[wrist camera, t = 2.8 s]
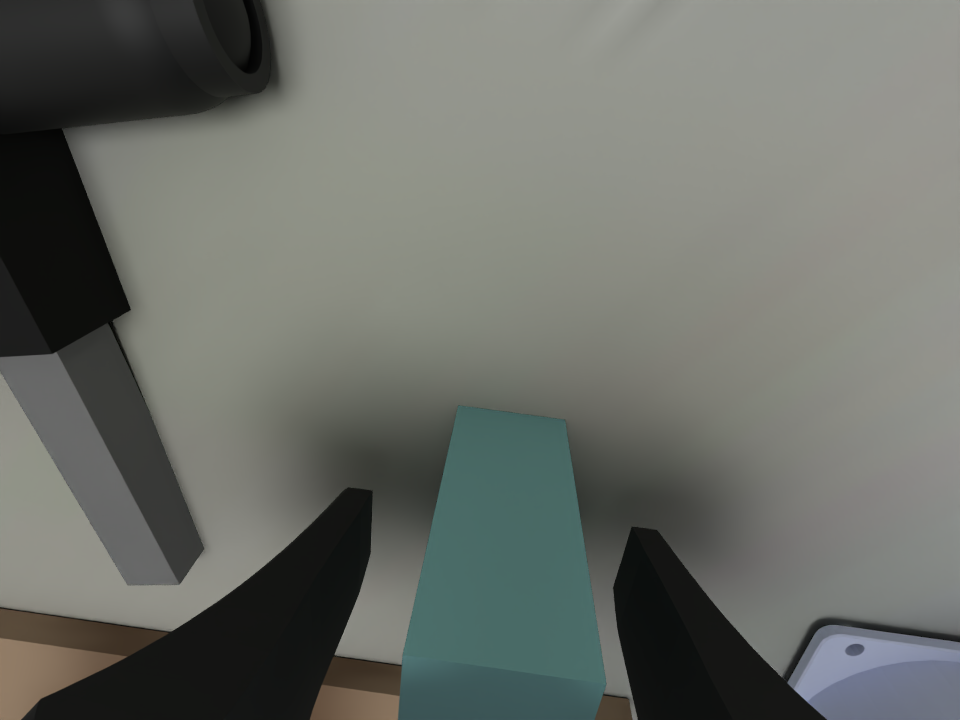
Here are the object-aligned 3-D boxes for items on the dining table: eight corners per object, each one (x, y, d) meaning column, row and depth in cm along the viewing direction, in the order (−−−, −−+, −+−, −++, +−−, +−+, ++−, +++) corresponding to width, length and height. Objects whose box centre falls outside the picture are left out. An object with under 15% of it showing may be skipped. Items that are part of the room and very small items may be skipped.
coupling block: (564, 419, 13) (606, 684, 7) (534, 562, 15) (545, 867, 9) (458, 405, 13) (402, 654, 7) (442, 549, 15) (388, 842, 9)
